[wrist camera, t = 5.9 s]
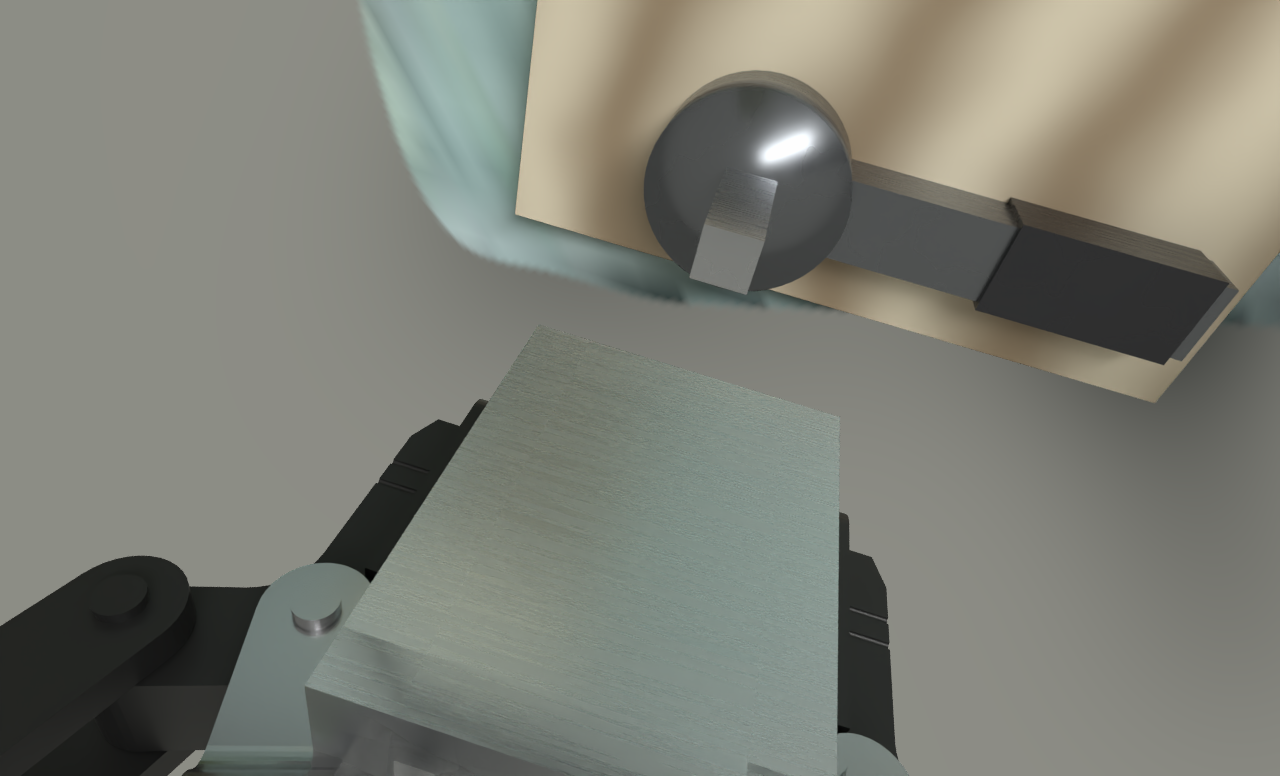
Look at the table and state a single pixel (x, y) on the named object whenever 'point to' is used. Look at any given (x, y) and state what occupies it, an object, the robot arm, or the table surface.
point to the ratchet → (904, 226)
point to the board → (943, 129)
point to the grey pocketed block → (603, 587)
